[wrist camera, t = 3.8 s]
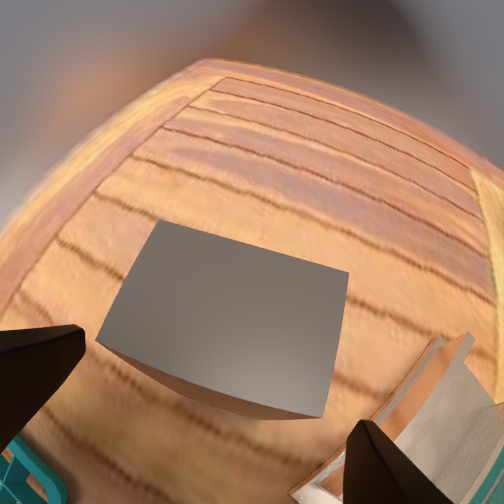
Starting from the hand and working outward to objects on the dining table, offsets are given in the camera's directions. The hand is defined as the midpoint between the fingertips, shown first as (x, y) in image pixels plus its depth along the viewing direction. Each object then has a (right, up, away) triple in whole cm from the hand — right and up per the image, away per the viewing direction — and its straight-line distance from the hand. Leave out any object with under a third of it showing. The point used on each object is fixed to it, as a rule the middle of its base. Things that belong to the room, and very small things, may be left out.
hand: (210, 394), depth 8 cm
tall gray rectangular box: (0, -4, +9) cm, 9 cm away
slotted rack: (+16, -14, +3) cm, 22 cm away
